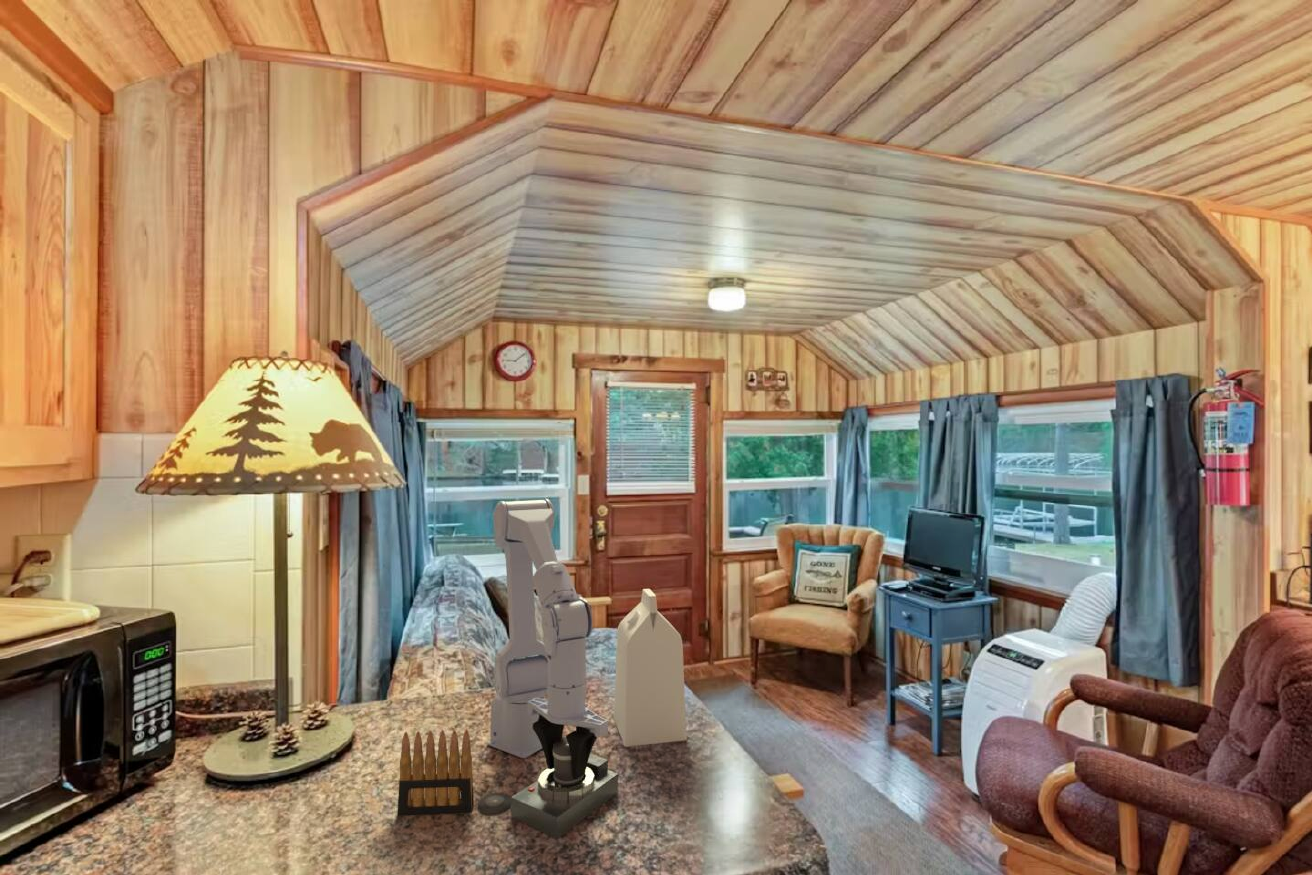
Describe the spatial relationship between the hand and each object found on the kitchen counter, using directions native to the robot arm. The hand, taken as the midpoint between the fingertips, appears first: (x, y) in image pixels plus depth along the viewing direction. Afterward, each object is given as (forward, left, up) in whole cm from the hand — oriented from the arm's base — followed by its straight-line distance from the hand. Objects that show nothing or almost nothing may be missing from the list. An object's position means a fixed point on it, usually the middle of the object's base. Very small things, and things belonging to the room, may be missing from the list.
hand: (566, 771), depth 99 cm
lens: (0, +1, -2) cm, 2 cm away
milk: (-4, +28, -5) cm, 29 cm away
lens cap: (-9, -6, -6) cm, 12 cm away
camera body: (0, 0, -5) cm, 5 cm away
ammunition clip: (-15, -12, -5) cm, 20 cm away
